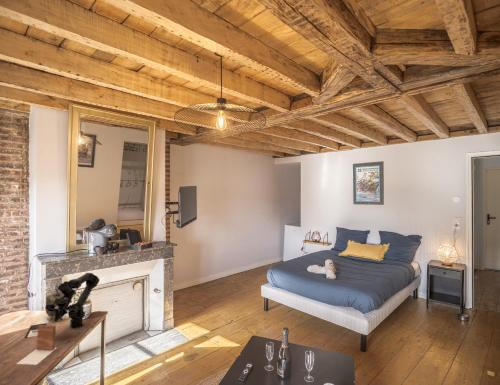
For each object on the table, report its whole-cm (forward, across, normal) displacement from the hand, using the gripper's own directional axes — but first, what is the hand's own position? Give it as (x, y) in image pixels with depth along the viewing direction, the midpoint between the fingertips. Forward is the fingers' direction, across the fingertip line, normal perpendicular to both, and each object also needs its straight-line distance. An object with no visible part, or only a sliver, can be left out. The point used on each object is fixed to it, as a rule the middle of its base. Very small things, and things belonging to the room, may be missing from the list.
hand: (55, 321), depth 177 cm
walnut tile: (+15, 0, +4) cm, 15 cm away
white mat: (+20, 0, 0) cm, 20 cm away
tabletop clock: (-13, -21, +32) cm, 41 cm away
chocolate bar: (0, -22, +20) cm, 30 cm away
